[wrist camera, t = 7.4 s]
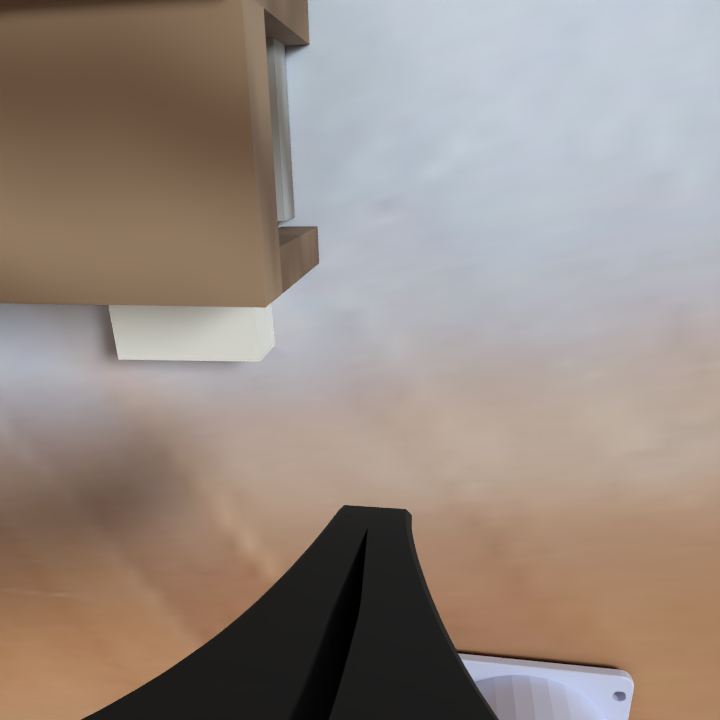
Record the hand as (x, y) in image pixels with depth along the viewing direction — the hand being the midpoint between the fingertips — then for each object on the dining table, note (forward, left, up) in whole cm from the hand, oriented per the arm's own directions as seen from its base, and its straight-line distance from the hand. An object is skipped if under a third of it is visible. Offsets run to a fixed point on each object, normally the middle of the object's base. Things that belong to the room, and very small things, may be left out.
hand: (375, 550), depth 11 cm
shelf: (+8, +8, -9) cm, 15 cm away
